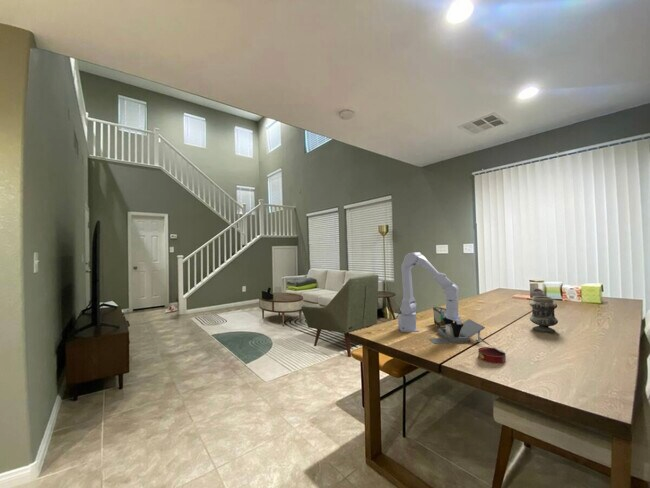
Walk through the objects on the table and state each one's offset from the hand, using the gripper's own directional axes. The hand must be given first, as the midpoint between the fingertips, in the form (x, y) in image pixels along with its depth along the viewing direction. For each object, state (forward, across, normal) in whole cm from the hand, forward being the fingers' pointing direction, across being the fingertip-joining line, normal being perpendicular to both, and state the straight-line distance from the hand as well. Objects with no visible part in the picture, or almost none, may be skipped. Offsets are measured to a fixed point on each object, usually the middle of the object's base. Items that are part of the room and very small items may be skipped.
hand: (452, 334), depth 141 cm
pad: (+2, -4, +9) cm, 10 cm away
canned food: (+2, -25, -4) cm, 26 cm away
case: (+2, 0, -4) cm, 4 cm away
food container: (+2, +20, -4) cm, 20 cm away
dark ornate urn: (+2, +8, -54) cm, 54 cm away
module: (+2, 0, 0) cm, 2 cm away
